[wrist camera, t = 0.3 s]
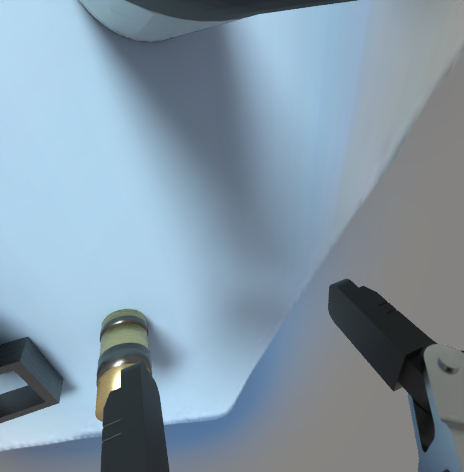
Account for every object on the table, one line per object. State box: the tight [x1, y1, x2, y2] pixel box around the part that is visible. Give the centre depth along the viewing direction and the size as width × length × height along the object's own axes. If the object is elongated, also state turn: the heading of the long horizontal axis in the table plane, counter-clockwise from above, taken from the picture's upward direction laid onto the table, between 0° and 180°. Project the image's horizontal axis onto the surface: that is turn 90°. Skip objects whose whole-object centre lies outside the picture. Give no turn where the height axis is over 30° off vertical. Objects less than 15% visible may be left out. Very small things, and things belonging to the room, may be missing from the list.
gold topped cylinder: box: [96, 309, 152, 422], centre depth 30 cm, size 5×5×10 cm
